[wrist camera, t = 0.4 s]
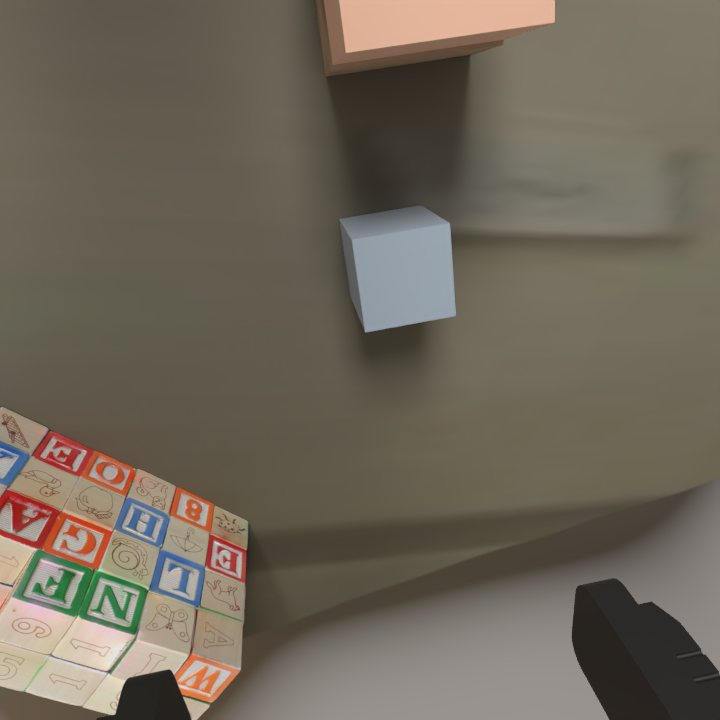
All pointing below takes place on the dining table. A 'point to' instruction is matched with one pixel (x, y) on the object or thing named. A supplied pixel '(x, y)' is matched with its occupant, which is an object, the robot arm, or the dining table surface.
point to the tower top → (426, 24)
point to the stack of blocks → (111, 576)
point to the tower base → (388, 61)
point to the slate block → (399, 267)
